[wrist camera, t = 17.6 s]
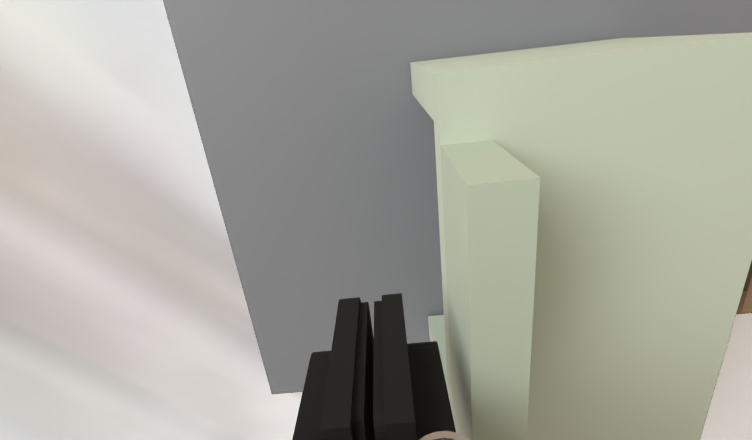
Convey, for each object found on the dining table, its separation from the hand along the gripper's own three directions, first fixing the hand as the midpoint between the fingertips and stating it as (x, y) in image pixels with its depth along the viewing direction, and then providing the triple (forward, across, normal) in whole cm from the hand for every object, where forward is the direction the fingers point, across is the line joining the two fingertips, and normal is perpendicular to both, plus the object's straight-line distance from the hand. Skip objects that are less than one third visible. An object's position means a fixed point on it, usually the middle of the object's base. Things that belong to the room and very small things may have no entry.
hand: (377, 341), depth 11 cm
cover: (+8, -6, 0) cm, 10 cm away
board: (+10, -5, 0) cm, 11 cm away
